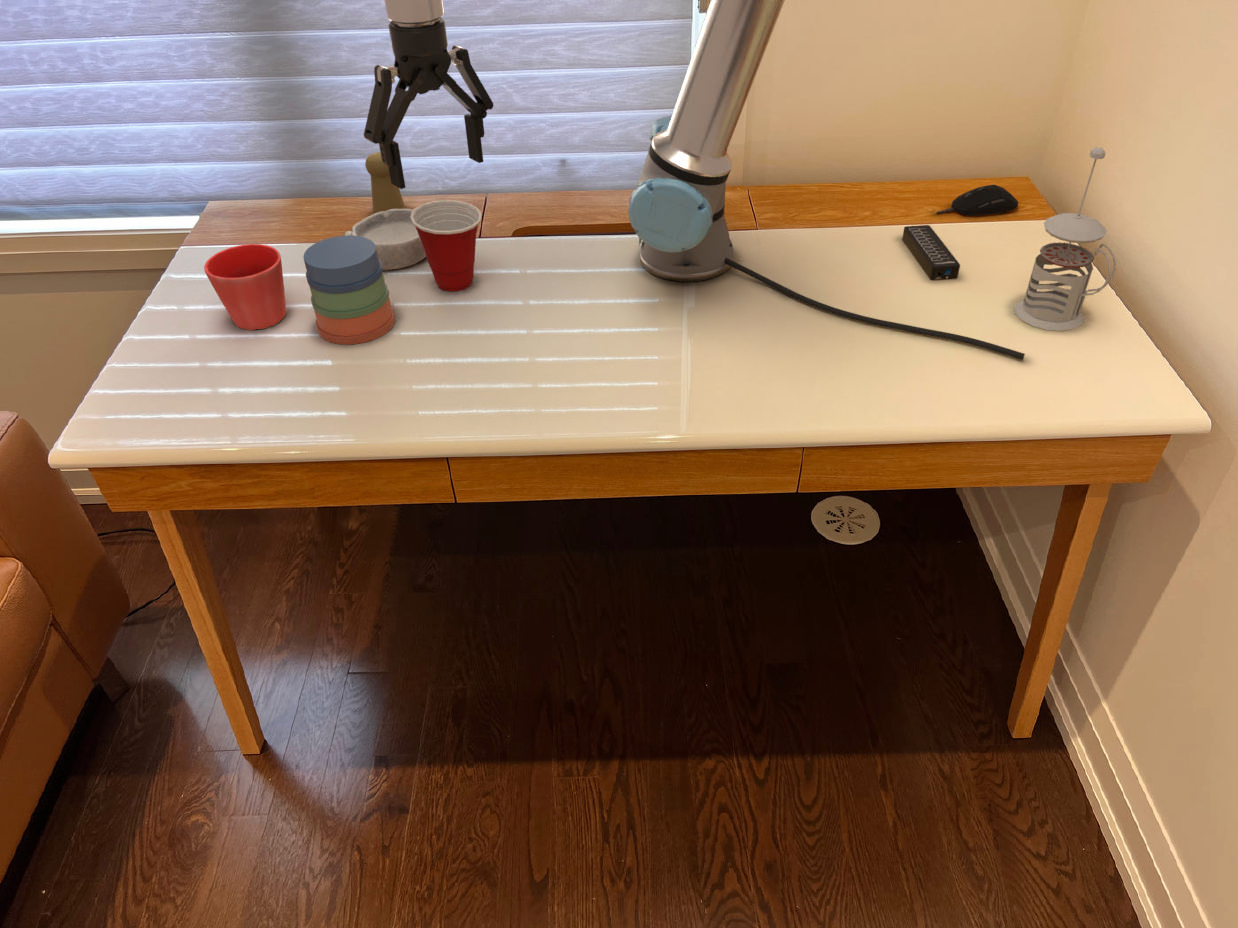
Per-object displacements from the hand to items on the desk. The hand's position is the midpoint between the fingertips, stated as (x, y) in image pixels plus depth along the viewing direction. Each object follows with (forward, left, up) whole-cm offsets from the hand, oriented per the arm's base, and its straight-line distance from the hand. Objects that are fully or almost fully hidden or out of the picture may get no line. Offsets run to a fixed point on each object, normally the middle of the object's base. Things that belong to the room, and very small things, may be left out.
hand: (438, 172), depth 140 cm
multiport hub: (-47, -61, -19) cm, 79 cm away
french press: (-70, -59, -19) cm, 94 cm away
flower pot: (+12, +28, -19) cm, 36 cm away
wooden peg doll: (+30, -6, -19) cm, 36 cm away
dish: (+16, +2, -19) cm, 24 cm away
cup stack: (0, +18, -18) cm, 26 cm away
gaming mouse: (-42, -82, -19) cm, 94 cm away
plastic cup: (0, 0, -19) cm, 19 cm away
